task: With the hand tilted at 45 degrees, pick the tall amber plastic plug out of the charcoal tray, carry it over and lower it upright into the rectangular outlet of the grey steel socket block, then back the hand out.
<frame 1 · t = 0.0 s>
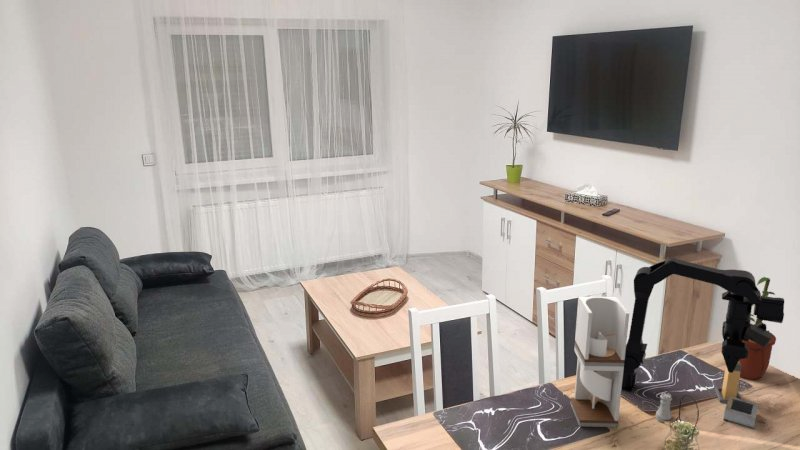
hand: (730, 365, 165), 15 cm above the table, tool pointing down, fingers open, 9 cm apart
potted plant: (736, 372, 189), on the table
charcoal tray: (727, 400, 173), on the table
rook chess piece: (663, 419, 165), on the table
amber plug: (728, 397, 173), point 1 cm above the table, touching charcoal tray
steel socket block: (739, 420, 164), on the table
curved tiered shelf: (592, 415, 167), on the table
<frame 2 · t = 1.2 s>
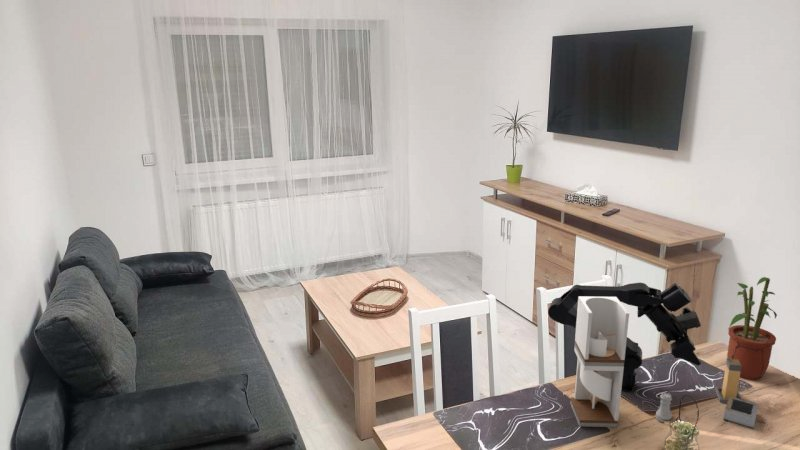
hand: (696, 357, 172), 13 cm above the table, tool tilted 45°, fingers open, 9 cm apart
nothing on the table moved.
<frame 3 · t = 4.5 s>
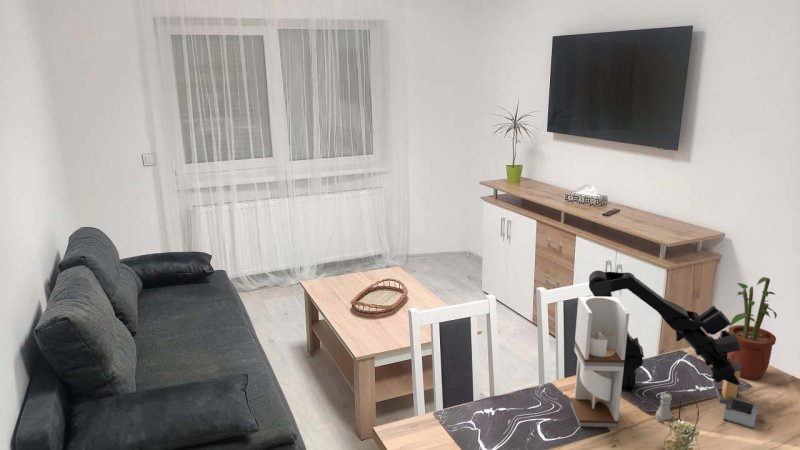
hand: (736, 380, 171), 7 cm above the table, tool tilted 45°, fingers closed on amber plug, 4 cm apart
amber plug: (728, 397, 173), point 1 cm above the table, touching charcoal tray, gripper
everything else where it was.
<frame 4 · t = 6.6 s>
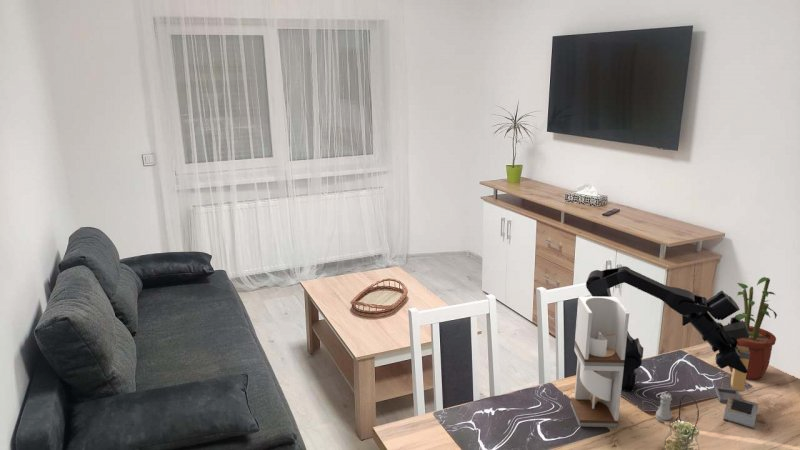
hand: (745, 368, 166), 13 cm above the table, tool tilted 45°, fingers closed on amber plug, 4 cm apart
amber plug: (737, 386, 168), point 7 cm above the table, touching gripper
everything else where it was.
when the fingers open (9 cm above the table, at t = 9.1 s): amber plug stays where it is, resting on steel socket block.
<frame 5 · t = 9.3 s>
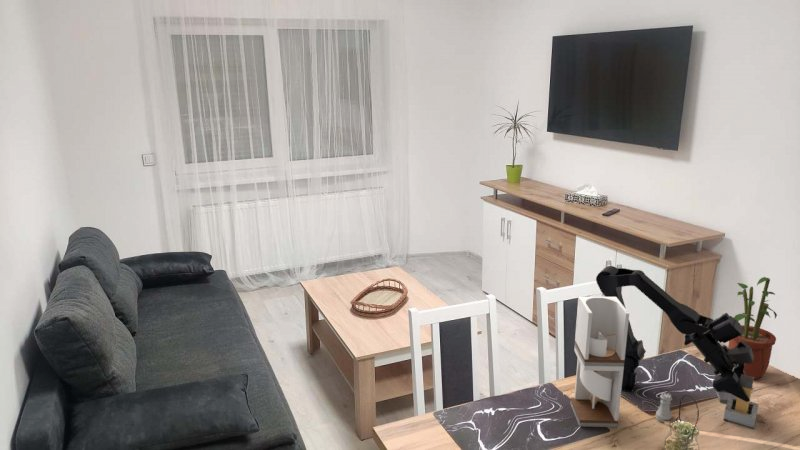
hand: (749, 395, 161), 9 cm above the table, tool tilted 45°, fingers open, 6 cm apart
amber plug: (740, 415, 163), point 1 cm above the table, touching steel socket block
everything else where it was.
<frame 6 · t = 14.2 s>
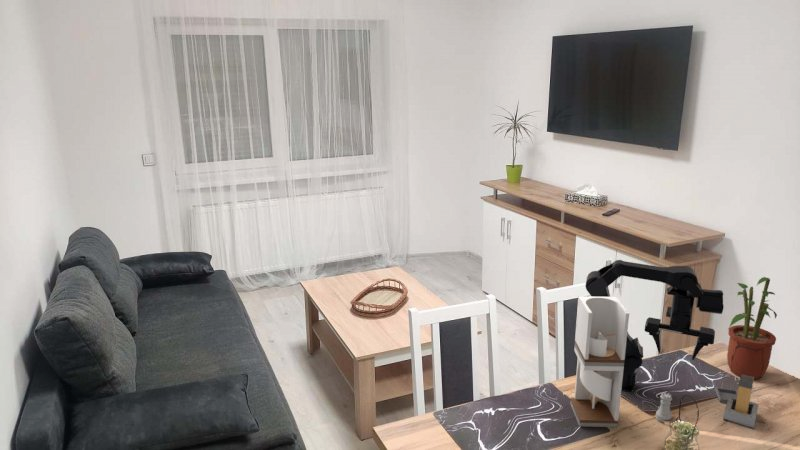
hand: (675, 355, 174), 13 cm above the table, tool pointing down, fingers open, 9 cm apart
nothing on the table moved.
at the end: amber plug 0.0 cm off-centre on the steel socket block, point 1.5 cm above the steel socket block's base; amber plug tilted 0°; the gripper is holding nothing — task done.
